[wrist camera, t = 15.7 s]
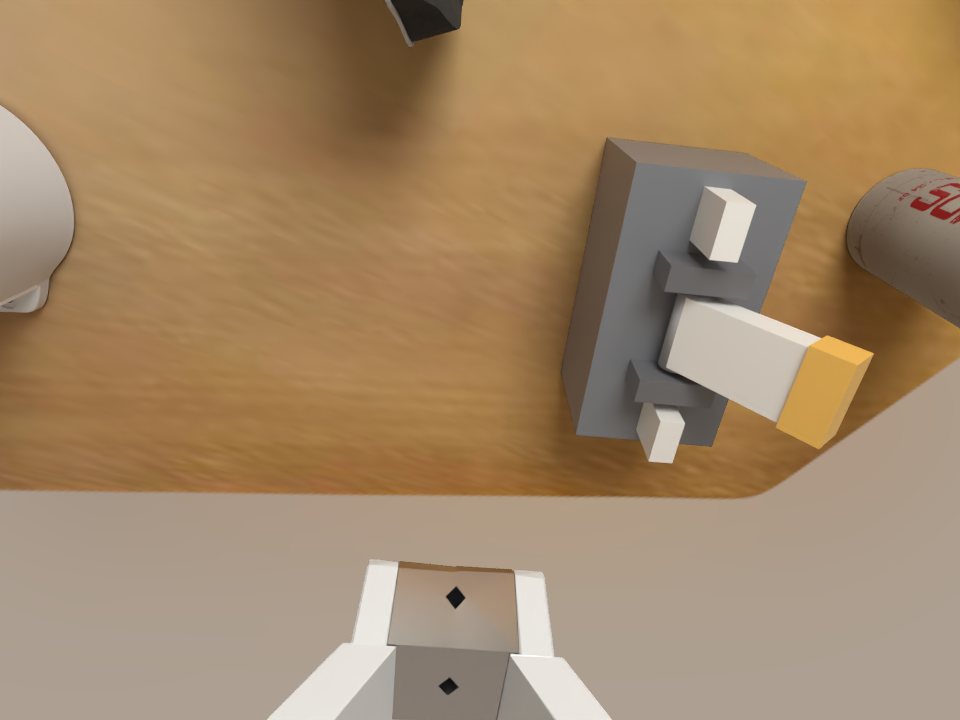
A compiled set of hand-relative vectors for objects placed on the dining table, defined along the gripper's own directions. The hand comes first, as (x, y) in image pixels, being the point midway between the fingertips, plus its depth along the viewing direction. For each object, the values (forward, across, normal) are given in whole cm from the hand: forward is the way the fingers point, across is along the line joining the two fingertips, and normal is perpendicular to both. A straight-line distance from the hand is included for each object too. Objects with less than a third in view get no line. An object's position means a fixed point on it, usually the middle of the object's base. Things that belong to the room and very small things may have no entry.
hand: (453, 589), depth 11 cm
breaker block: (+37, +14, -6) cm, 40 cm away
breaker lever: (+27, +14, -6) cm, 31 cm away
